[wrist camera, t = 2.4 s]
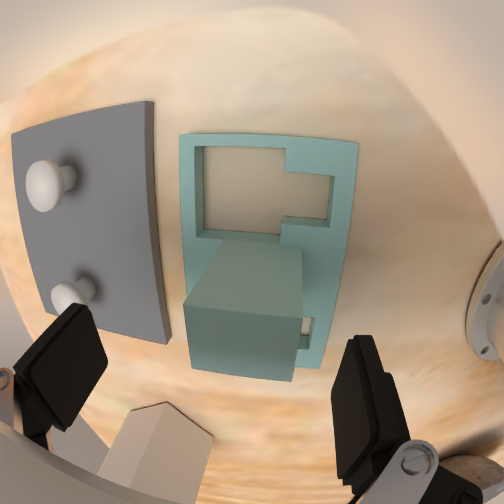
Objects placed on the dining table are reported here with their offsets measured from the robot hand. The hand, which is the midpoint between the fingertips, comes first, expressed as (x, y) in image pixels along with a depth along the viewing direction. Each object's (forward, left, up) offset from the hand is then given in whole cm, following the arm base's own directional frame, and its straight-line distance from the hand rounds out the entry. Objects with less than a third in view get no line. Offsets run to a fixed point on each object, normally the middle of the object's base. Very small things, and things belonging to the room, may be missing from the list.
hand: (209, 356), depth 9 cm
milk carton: (+8, +21, -8) cm, 24 cm away
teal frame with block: (-1, 0, -8) cm, 8 cm away
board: (+12, -1, -8) cm, 15 cm away
